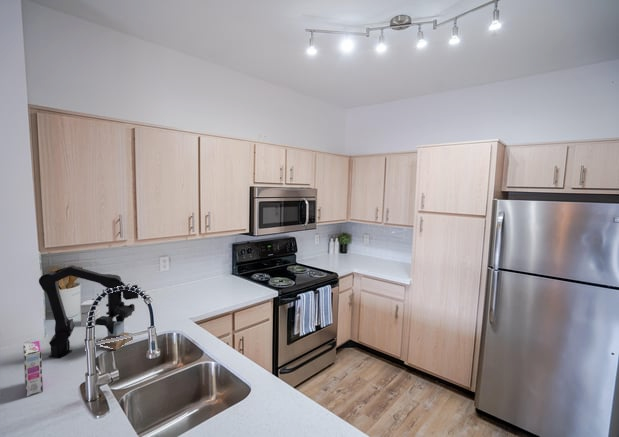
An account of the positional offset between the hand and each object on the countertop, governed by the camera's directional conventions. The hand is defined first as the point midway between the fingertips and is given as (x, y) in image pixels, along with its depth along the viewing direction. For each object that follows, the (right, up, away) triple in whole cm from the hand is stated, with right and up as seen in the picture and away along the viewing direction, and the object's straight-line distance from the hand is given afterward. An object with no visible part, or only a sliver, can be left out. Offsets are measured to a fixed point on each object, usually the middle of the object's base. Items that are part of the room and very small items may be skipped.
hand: (115, 331), depth 152 cm
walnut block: (0, -7, +1) cm, 7 cm away
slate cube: (0, -1, 0) cm, 1 cm away
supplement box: (-29, -4, +23) cm, 38 cm away
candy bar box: (-10, -10, -34) cm, 37 cm away
